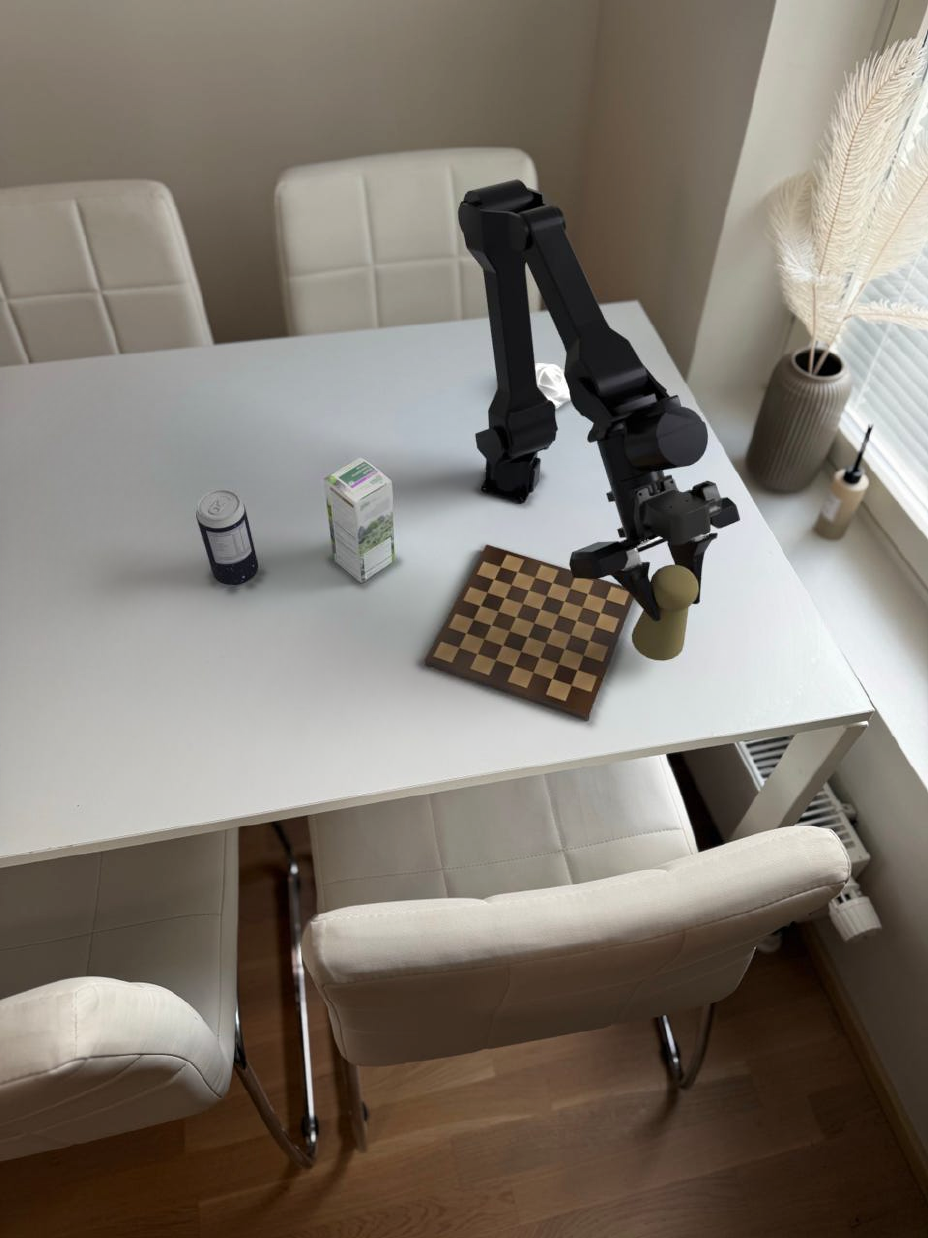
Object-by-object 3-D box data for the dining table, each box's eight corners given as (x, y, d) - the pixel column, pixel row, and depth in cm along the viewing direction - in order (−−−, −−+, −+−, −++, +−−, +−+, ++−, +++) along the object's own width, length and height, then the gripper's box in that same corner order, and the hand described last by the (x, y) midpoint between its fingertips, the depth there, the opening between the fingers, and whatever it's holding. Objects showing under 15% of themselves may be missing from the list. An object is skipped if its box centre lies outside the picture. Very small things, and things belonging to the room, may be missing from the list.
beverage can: (267, 563, 117) (252, 494, 108) (246, 595, 114) (228, 526, 104) (227, 551, 118) (209, 482, 109) (205, 583, 115) (184, 514, 106)
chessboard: (424, 665, 108) (424, 659, 107) (486, 549, 119) (486, 543, 118) (588, 721, 103) (589, 715, 102) (635, 595, 115) (637, 589, 114)
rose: (514, 347, 140) (578, 348, 140) (512, 371, 143) (575, 373, 143) (515, 388, 133) (582, 389, 133) (513, 412, 137) (579, 414, 137)
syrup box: (366, 538, 120) (359, 453, 109) (397, 562, 118) (392, 478, 106) (332, 560, 118) (321, 476, 106) (363, 586, 115) (354, 502, 104)
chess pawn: (682, 665, 104) (704, 603, 96) (629, 655, 105) (646, 593, 96) (685, 623, 108) (706, 561, 99) (633, 615, 109) (650, 551, 100)
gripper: (599, 498, 87) (646, 650, 90) (753, 439, 93) (792, 584, 96) (547, 505, 98) (591, 641, 101) (689, 451, 104) (726, 582, 106)
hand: (676, 612), depth 101 cm, fingers closed on chess pawn, 5 cm apart
